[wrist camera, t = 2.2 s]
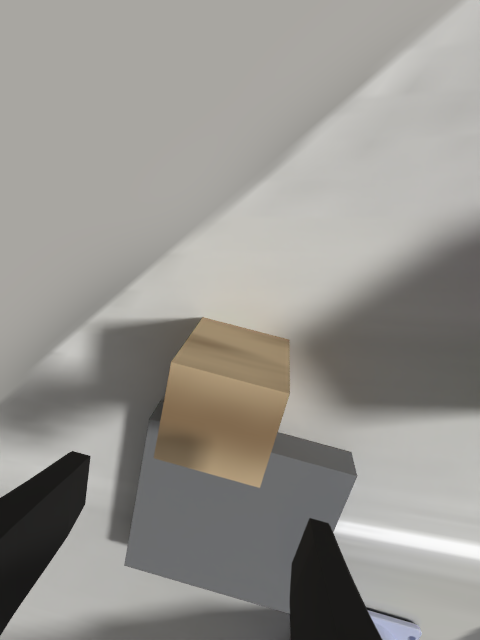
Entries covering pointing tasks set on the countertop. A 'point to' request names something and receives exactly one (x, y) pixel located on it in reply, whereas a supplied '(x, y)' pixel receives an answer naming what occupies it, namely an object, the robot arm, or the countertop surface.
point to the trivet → (235, 518)
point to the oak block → (225, 401)
